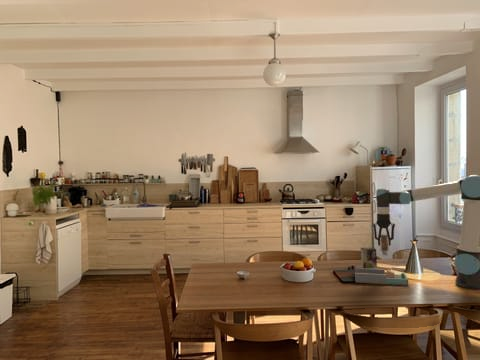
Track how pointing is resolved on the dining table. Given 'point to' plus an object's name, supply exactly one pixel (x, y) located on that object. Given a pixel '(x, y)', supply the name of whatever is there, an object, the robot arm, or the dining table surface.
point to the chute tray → (398, 280)
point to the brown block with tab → (384, 244)
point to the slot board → (370, 275)
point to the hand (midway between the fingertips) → (384, 250)
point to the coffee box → (368, 258)
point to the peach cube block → (389, 274)
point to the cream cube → (398, 275)
